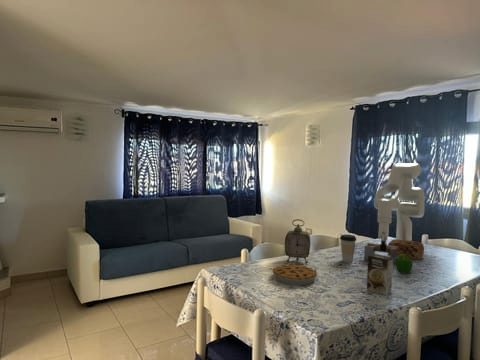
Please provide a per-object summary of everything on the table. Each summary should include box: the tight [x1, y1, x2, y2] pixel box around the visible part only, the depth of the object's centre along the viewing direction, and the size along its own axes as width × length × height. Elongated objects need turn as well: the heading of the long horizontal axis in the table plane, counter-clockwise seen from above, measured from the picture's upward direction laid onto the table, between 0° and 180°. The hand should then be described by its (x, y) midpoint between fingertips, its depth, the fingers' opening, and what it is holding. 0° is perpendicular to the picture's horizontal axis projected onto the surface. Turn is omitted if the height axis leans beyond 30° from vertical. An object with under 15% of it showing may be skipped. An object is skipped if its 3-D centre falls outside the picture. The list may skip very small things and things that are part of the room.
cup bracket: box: [363, 242, 376, 262], centre depth 203 cm, size 9×5×9 cm, turn 154°
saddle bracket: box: [389, 248, 397, 266], centre depth 197 cm, size 9×3×9 cm, turn 154°
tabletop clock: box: [284, 218, 311, 264], centre depth 196 cm, size 14×9×25 cm, turn 76°
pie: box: [272, 263, 318, 286], centre depth 167 cm, size 22×22×5 cm
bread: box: [387, 238, 425, 260], centre depth 213 cm, size 19×11×10 cm, turn 40°
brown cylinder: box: [368, 242, 398, 254], centre depth 199 cm, size 16×4×4 cm, turn 64°
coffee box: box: [366, 253, 394, 296], centre depth 152 cm, size 9×6×16 cm
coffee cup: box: [339, 234, 357, 263], centre depth 199 cm, size 9×9×15 cm
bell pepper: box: [395, 254, 414, 275], centre depth 179 cm, size 8×8×10 cm
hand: (383, 250), depth 199 cm, fingers closed on brown cylinder, 4 cm apart
